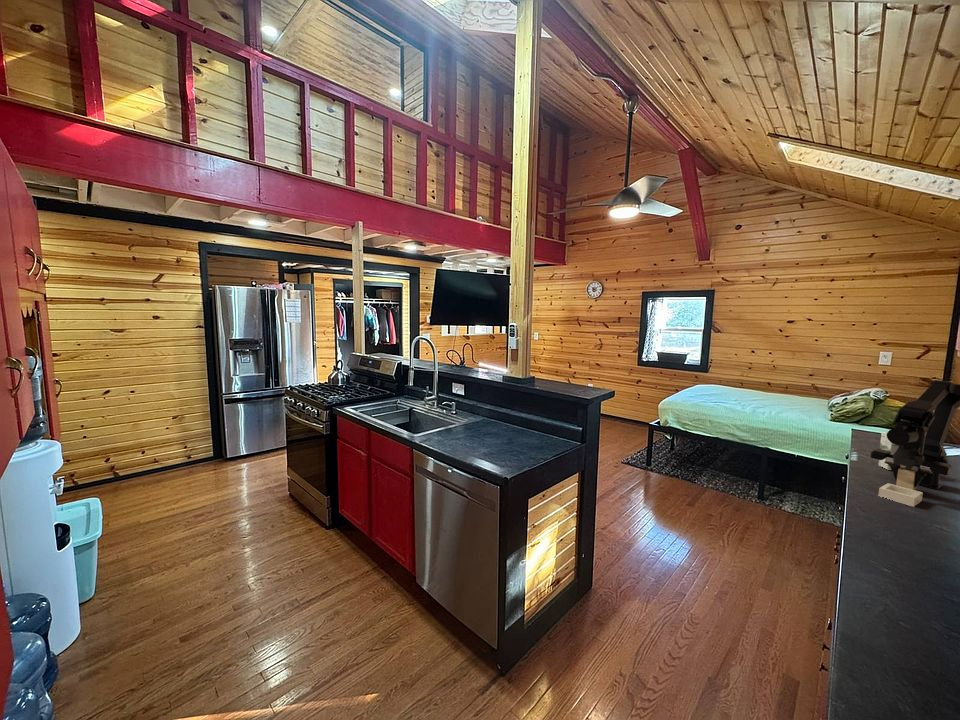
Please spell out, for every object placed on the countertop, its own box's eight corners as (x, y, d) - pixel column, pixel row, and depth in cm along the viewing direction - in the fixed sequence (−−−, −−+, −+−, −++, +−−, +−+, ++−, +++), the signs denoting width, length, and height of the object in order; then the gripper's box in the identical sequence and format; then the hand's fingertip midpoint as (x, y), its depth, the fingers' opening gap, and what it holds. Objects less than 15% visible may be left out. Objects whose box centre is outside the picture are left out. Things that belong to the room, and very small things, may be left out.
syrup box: (905, 472, 157) (910, 436, 155) (887, 470, 158) (892, 435, 156) (893, 466, 162) (898, 432, 161) (876, 465, 163) (880, 431, 162)
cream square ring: (886, 491, 139) (888, 483, 139) (921, 501, 132) (922, 492, 131) (878, 496, 135) (879, 488, 135) (913, 506, 128) (914, 497, 127)
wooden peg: (899, 488, 142) (902, 464, 141) (915, 492, 138) (918, 467, 137) (895, 490, 140) (898, 466, 139) (911, 494, 136) (915, 469, 135)
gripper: (867, 437, 141) (862, 479, 143) (946, 453, 125) (939, 500, 127) (878, 433, 147) (873, 473, 148) (955, 448, 131) (949, 493, 132)
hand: (906, 484), depth 139 cm, fingers open, 4 cm apart
